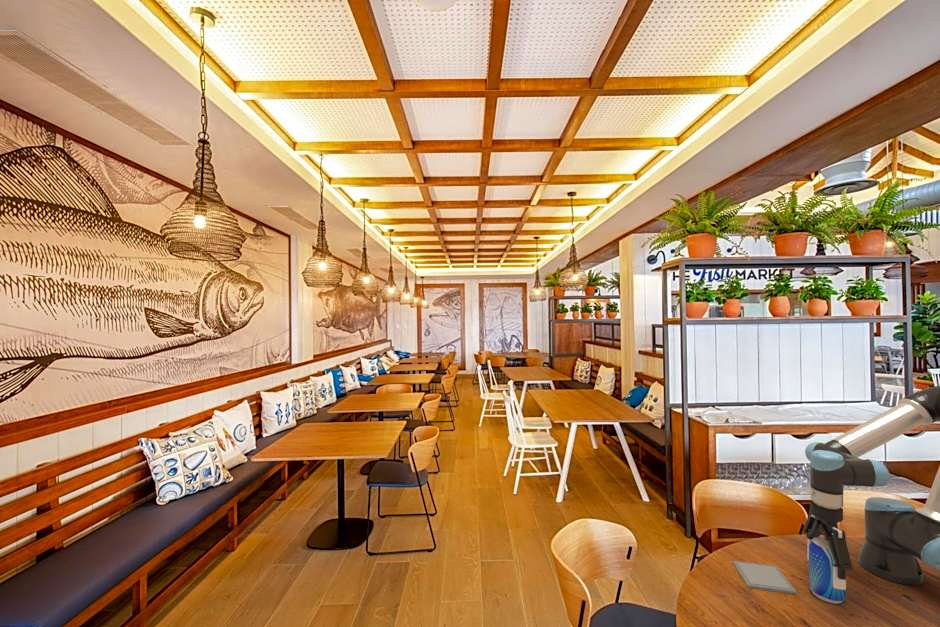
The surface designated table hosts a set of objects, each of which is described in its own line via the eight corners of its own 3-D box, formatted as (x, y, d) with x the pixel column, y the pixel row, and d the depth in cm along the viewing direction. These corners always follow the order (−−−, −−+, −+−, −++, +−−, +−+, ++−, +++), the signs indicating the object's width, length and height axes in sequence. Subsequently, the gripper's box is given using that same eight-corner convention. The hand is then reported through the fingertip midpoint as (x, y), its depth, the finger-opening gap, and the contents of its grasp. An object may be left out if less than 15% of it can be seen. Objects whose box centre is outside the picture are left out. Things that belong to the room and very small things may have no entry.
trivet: (776, 568, 138) (776, 565, 138) (796, 594, 125) (796, 591, 125) (732, 562, 141) (732, 560, 141) (748, 587, 128) (748, 584, 128)
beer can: (853, 607, 119) (852, 552, 119) (819, 603, 121) (819, 549, 121) (833, 588, 128) (833, 537, 127) (802, 585, 129) (802, 534, 129)
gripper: (790, 485, 137) (790, 548, 137) (836, 522, 113) (835, 599, 113) (817, 488, 135) (816, 552, 135) (869, 526, 111) (868, 604, 111)
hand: (825, 573), depth 124 cm, fingers open, 13 cm apart
